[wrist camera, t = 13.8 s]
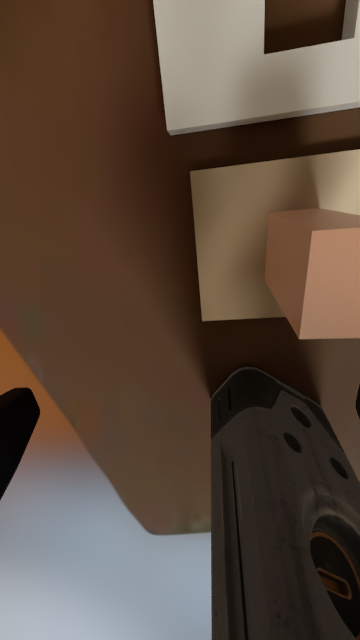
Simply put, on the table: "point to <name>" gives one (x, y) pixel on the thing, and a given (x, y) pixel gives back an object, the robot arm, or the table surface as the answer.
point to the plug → (315, 271)
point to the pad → (258, 223)
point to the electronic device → (280, 517)
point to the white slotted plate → (247, 67)
